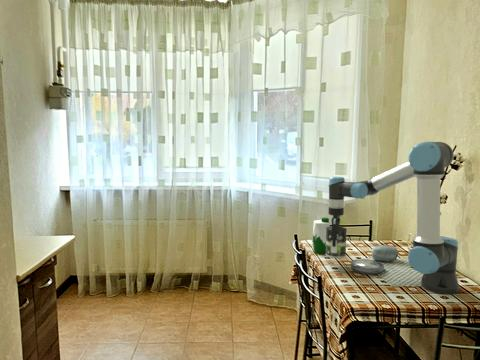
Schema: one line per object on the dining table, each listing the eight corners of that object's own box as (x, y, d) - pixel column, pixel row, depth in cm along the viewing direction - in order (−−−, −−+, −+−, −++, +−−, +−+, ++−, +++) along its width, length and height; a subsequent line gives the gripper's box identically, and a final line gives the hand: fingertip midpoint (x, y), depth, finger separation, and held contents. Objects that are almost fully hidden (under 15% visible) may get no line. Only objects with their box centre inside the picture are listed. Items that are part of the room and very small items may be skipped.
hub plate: (390, 272, 187) (391, 266, 186) (366, 276, 180) (366, 271, 180) (367, 262, 201) (367, 257, 201) (343, 266, 194) (344, 261, 194)
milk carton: (329, 254, 214) (331, 220, 212) (313, 254, 214) (314, 219, 212) (326, 249, 223) (328, 216, 220) (311, 249, 223) (312, 216, 221)
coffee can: (345, 258, 188) (346, 231, 186) (324, 257, 191) (325, 229, 189) (346, 253, 198) (346, 226, 196) (326, 251, 201) (326, 225, 199)
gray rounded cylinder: (396, 251, 209) (394, 238, 204) (401, 264, 201) (399, 251, 196) (370, 255, 212) (368, 242, 207) (374, 268, 205) (372, 255, 200)
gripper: (331, 203, 204) (330, 243, 206) (325, 210, 183) (324, 255, 185) (345, 204, 201) (344, 244, 203) (341, 211, 180) (340, 256, 182)
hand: (335, 249), depth 194 cm, fingers closed on coffee can, 10 cm apart
